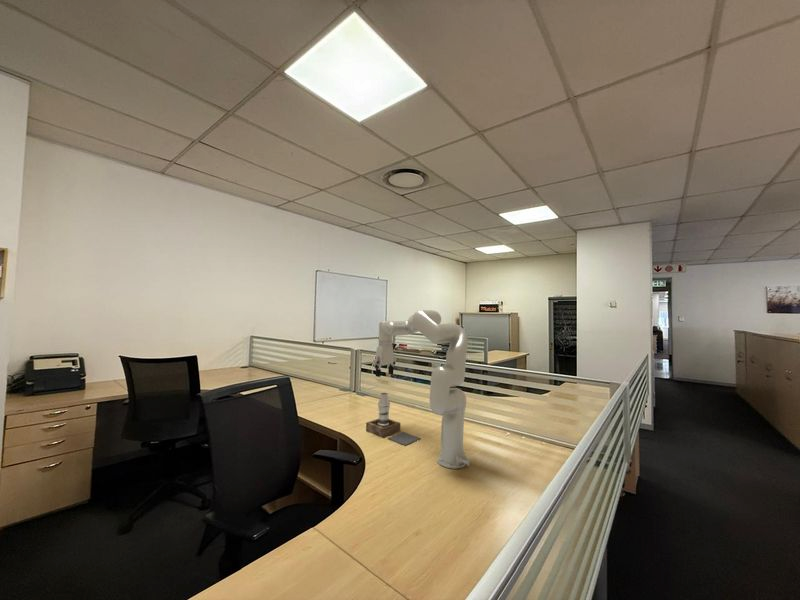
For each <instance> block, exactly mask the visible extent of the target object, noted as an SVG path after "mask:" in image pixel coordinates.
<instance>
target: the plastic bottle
mask: <svg viewBox="0 0 800 600" xmlns="http://www.w3.org/2000/svg"><path fill="white" fill-rule="evenodd" d="M388 397H389V395H388V393H387V392H382V393H380V399H379V401H378V402H377V407H378V418H377V419H378V424H377V425H378V426H381V427H383V428H384V427H387V426H389V415H390V407H391V402H390V400H389V399H388Z"/></svg>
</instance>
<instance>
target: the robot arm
mask: <svg viewBox="0 0 800 600" xmlns="http://www.w3.org/2000/svg"><path fill="white" fill-rule="evenodd" d="M418 332H420V334H421V335H422V336H424V337H425V338H426V339H427V340H428V341H430V343H432V344H433V343H434V344H445V343H446V344H447V343H449V347H448V349H447V350H446V354H445V364H444V365H438V366H437V367H435V368H434V369H433V371H432V373H431V377H430V388H429V389H430V390H429V405H430V408H431V410H432V413H434V414H435V415H438V416H442V417H441V429H440V431H441V435H440V438H441V439H440V440H441V442H440V454H439V455H438V456H437V458H436V461H437V463H438V464H439V465H440V466H442V467H444V468H447V469H454V470H455V469H462V468H464V467H465V466H469V467H470V465H471V458H469V457H466V452H464V425H465V413H466V407H467V396H466V394H465V392H464V391H463V390H462V389H461V388H457V387H458V386H461V385H462V384H463V383H464V382H465V379H466V378H465V375H466V364H467V363H466V362H467V350H468V344H469V343H468V340H469V339H468V335H467V332H466V330H465V329H464V328H463V326H461V325H459V324H457V323H442V316H441V314H440V313H439V312H437V311H436V310H432V309H431V310H430V309H429V310H428V309H420V310H417V311H415V312H414V313H413V314H412V315H410V316H409V317H408V320H395V321H394V320H381V321H379V323H378V346H377V347H376V350H375V352H376V353H375V359H374V360H372V365H373V367H374V369H375V377H378V378H381V375H382V374H381V373H382V369H381V367H382V366H388V368H387V369H388V370H387V371H388V375H391V376H392V375H394V367H395V365H396V362H397V357H395V356H394V354H395V353H394V346H393V343H394V341H393V338H394V336H407V335H411V334H416V333H418Z"/></svg>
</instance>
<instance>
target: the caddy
mask: <svg viewBox="0 0 800 600" xmlns="http://www.w3.org/2000/svg"><path fill="white" fill-rule="evenodd" d="M378 419H379V418H377V419H372V420H371V421H367V422H366V424H365V425H366V426H365V432H366V433H370V434H372V435H375V436H377V437H380V438H382V439H384V438H388V437H391V436H393V435H396V434H398V433H401V422H399V421H396V420H392V419H389V426H387V427H384V428H383V427H381V426H378V425H377V424H378Z"/></svg>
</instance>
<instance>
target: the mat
mask: <svg viewBox="0 0 800 600" xmlns="http://www.w3.org/2000/svg"><path fill="white" fill-rule="evenodd" d="M386 438H387V440H388V441H391V442H393V443H395V444H398V445H402V446H403V445H404V447H406V446H409V445H411V444H413V442H414V443H416V442H417V440H418V441H420V440H422V438H421V437H419V436H418V435H417V436H416V435H414V434H410V433H408V432H404V431H402V432H401V431H400V432H398V433H395V434H393V435H390V436H388V437H386ZM415 441H416V442H415Z"/></svg>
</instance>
